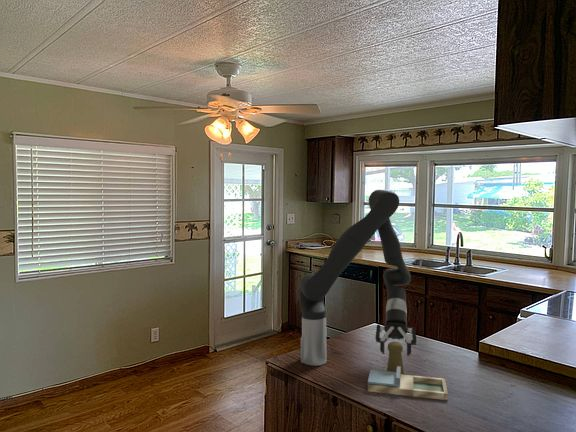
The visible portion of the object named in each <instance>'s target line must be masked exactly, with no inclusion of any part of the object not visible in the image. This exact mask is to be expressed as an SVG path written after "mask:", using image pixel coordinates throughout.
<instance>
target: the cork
mask: <svg viewBox="0 0 576 432" xmlns="http://www.w3.org/2000/svg"><path fill="white" fill-rule="evenodd" d="M403 350H404V347H403V345H402V343H401V342H398V341H390V342H388V344H387V351H388V352H389V353H388V359H387V367H386V371H390V372H397V366H401V374H402V375H405V370H404V364H403V363H404V362H403V361H404V360H403V355H402V352H403Z"/></svg>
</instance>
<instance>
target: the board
mask: <svg viewBox="0 0 576 432" xmlns="http://www.w3.org/2000/svg"><path fill="white" fill-rule="evenodd" d="M446 383H447V382H446V379H445V378H443V377H432V376H421V375H413V374H412V375H409V374H404V375H402V374H401V378H400V387H398V386H388V385H379V384H369V383H368V382H367V392H369V393H370V392H371V393H379V394H390V395H396V396H397V395H398V396H407V397H416V398H424V399H433V400H434V399H435V400H442V401H448V400H449V399H448V398H449V394H448V393H449V392H448V388H447V384H446Z"/></svg>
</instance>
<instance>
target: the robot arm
mask: <svg viewBox="0 0 576 432" xmlns="http://www.w3.org/2000/svg"><path fill="white" fill-rule="evenodd" d="M368 206H369V209H370V210H369V212H368V213H367V214H366V215H365V216H364V217H363V218H361V219H360V220H359V221H357V222H355V223H354V224H353V225H351V226H349V227H348V228H347V229H345V230H344V231H343V233H342V234H341V235H340V236H339V238H338V239H337V240H336V241H335V242H334V244H333V246H332V247H331V250H330V252H329V254H328V257H327V258H326V261H325V262H324V264H323V265H322V266H321V267H320V268H319V269H318V270H317V271H316V272H315V273H309V272H308V273H307V274H305V275H304V276H303V277H302V278H301V280H300V283H299V303H300V304H299V305H300V310H301V311H300V312H301V337H300V363H301V364H305V365H308V366H316V367H317V366H323V365H325V364H326V363H327V359H328V357H327V309H326V305H325V302H324V301H325V300H324V298H325V297H326V296H327V294H328V293H329V291H330V289H331V288H332V287H333V285H334V283H335V282H336V281H337V279H338V278H339V276H341V274H342V272H344V271H345V270H346V269H347V267H348V266H349V265H350V264H351V263H352V261H353V260H354V259H355V258H356V257H357V256H358V255H359V254H360V252H361V251H362V250H363V248H364V247H365V245H366V244H368V242H369V241H370V240H371V238H372V237H373V236H374V234H375V233H376V232H378V234H379V235H378V236H379V240H380V242H381V247H382V253H383V258H384V263H385V264H386V265H388V266H389V265H390V266H395V267H394V268H386V269H385V271H384V272H383V275H382V276H383V277H382V278H383V281H384V284H385V286H386V295H387V296H386V305H385V306H386V307H385V325H384V326H383V325H381V324H376V331H375V342H376V343H378V344H379V345H380V346H379V349H380V352H381V354H382V355H385V347H386V346H385V343H386V342H388V341H389V339H391V340H399V341H400V340H402V341H403V342H404V343H405V344H406V357H410V355H412V346H417V333H416V332H417V331H416V327H415V326H412V327H408V326H407V325H408V324H407V321H408V320H407V317H408V316H407V313H408V312H407V310H408V309H407V293H406V292H407V291H406V290H405V289H404V288H403V287H402V286H407V285H409V284H410V283H411V279H412V276H411V272H410V270H409V268H408V267H407V265H406V263H405V260H404V257H403V253H402V248H401V243H400V240H399V237H398V236H397V234H396V233H397V232H396V231H395V229H394V227H393V225H392V222H391V219H390V218H391V217H392V216H393V215H394V214H395V213H396V212H397V210H398V208H399V206H400V198H399V195H398V194H396V192H393V191H391V190H385V189H376V190H373V191H372V192H371V193H370V195H369V197H368ZM375 235H376V234H375ZM383 331H384V332H385V333H384V335H383V336H382V337H381V333H382V332H383ZM407 333H409V334H410V335H411V337H412V340H411V339H410V338H409V336H408V335H407Z"/></svg>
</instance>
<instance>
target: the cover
mask: <svg viewBox="0 0 576 432" xmlns="http://www.w3.org/2000/svg"><path fill="white" fill-rule="evenodd" d="M400 378H401V366H397V372H390V371H387V370H379V369H378V370H377V369H370V370H369V375H368V379H367V384H368V383H369V384H379V385H388V386H398V387H400Z"/></svg>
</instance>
